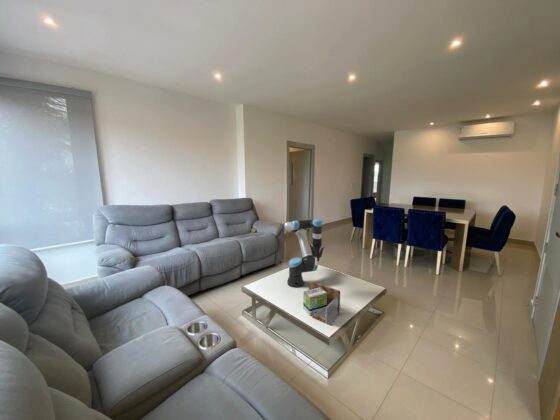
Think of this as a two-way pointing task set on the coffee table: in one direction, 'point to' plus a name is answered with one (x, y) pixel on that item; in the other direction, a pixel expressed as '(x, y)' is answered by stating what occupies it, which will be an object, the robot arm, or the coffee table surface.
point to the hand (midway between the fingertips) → (316, 264)
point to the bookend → (332, 311)
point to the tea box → (315, 301)
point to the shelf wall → (330, 296)
